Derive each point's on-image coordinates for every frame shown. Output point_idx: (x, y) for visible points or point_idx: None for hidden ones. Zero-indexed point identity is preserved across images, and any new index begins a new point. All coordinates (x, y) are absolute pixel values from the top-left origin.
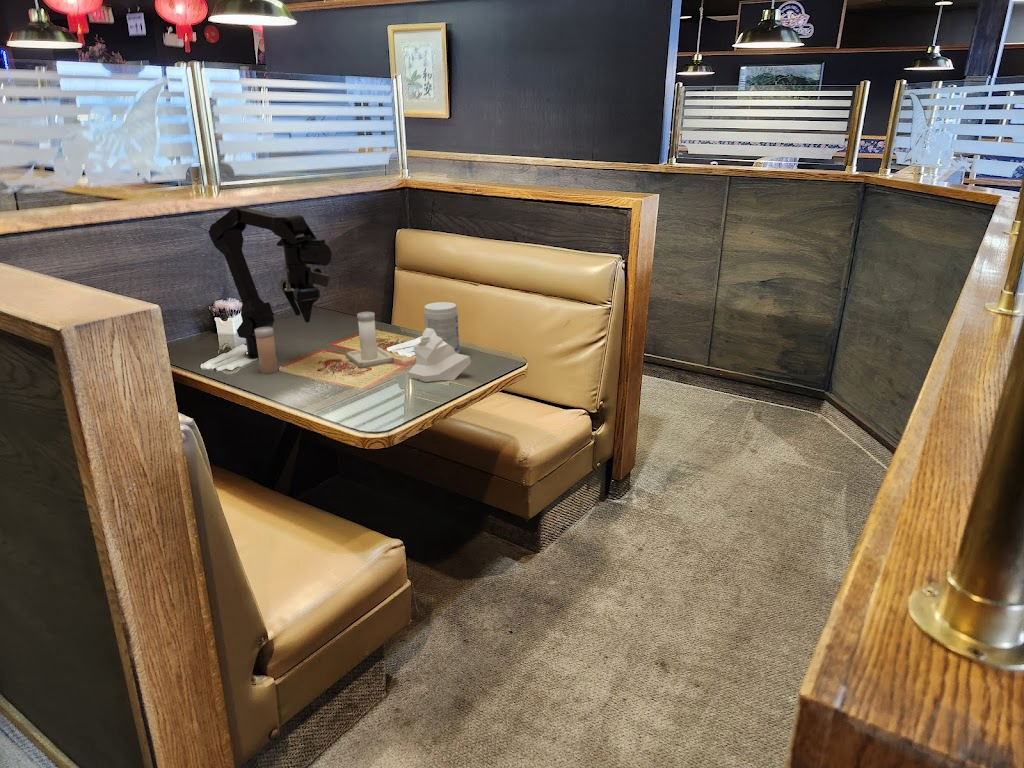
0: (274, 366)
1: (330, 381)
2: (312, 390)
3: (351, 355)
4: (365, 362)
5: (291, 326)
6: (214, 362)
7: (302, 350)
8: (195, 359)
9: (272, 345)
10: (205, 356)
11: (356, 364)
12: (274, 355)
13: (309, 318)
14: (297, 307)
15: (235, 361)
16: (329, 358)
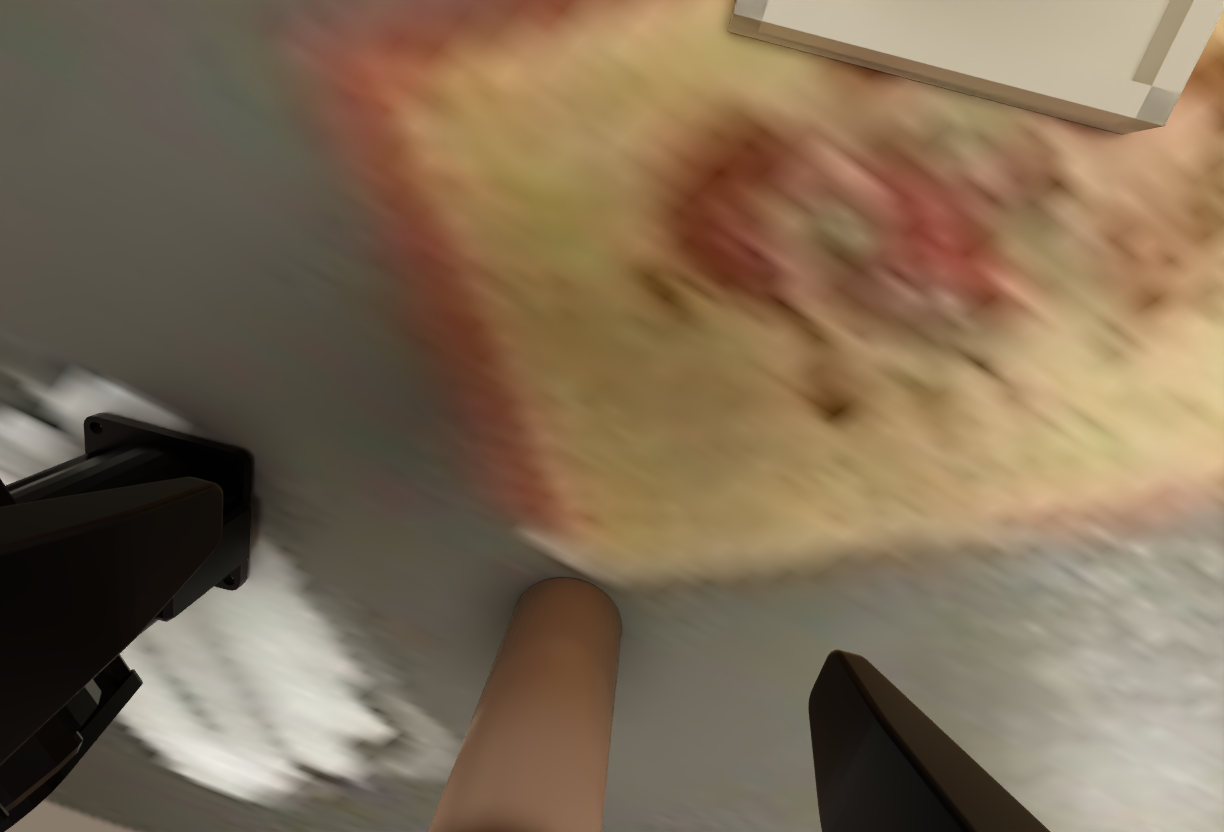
0: (618, 644)
1: (1124, 495)
2: (1144, 659)
3: (874, 31)
4: (1193, 62)
5: None
6: (186, 723)
7: (258, 214)
8: None
9: (599, 780)
10: None
11: (1020, 105)
12: (604, 692)
13: (912, 719)
14: (58, 605)
15: (237, 650)
16: (632, 172)
